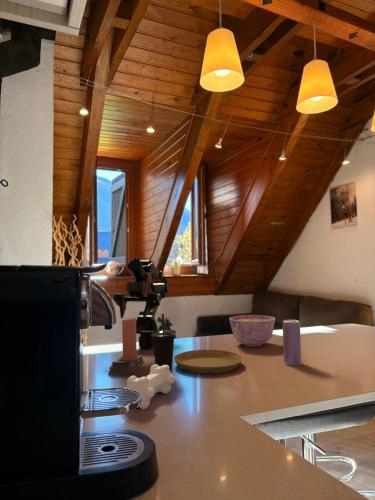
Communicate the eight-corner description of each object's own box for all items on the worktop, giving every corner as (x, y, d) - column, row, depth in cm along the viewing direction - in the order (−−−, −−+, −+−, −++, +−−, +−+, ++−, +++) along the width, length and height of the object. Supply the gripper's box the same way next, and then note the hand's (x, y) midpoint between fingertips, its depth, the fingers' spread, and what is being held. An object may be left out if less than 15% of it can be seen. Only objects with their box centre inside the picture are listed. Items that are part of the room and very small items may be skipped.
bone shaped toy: (151, 391, 108) (148, 363, 109) (178, 391, 105) (175, 362, 105) (122, 410, 95) (118, 377, 95) (151, 411, 91) (148, 377, 92)
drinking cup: (169, 381, 115) (167, 316, 116) (147, 378, 118) (146, 315, 119) (180, 374, 122) (178, 312, 123) (159, 372, 125) (158, 312, 126)
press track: (122, 361, 139) (122, 351, 140) (143, 362, 139) (143, 351, 139) (108, 374, 124) (108, 362, 124) (131, 374, 123) (131, 362, 123)
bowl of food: (225, 348, 157) (224, 321, 157) (234, 339, 176) (233, 314, 176) (274, 351, 151) (273, 322, 151) (278, 340, 170) (277, 315, 170)
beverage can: (297, 366, 127) (296, 322, 128) (281, 364, 131) (279, 321, 131) (303, 362, 132) (302, 320, 133) (287, 360, 136) (286, 319, 136)
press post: (125, 359, 138) (124, 318, 138) (138, 359, 137) (137, 318, 138) (121, 363, 133) (120, 320, 133) (134, 363, 132) (133, 320, 133)
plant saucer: (247, 359, 139) (247, 350, 140) (235, 379, 117) (235, 368, 117) (186, 356, 147) (185, 347, 147) (163, 374, 124) (163, 363, 124)
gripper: (112, 274, 152) (103, 307, 143) (156, 273, 148) (149, 307, 139) (121, 289, 161) (113, 321, 151) (163, 288, 157) (157, 322, 147)
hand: (132, 317), depth 147 cm, fingers open, 9 cm apart
